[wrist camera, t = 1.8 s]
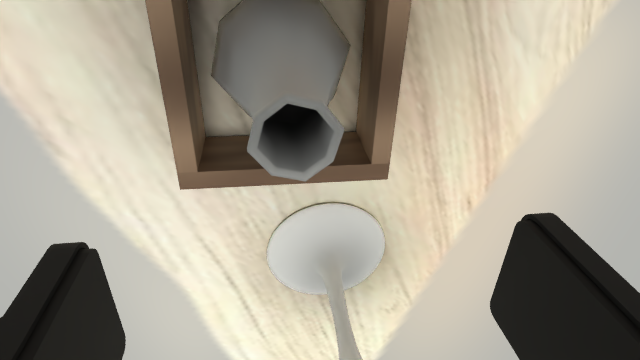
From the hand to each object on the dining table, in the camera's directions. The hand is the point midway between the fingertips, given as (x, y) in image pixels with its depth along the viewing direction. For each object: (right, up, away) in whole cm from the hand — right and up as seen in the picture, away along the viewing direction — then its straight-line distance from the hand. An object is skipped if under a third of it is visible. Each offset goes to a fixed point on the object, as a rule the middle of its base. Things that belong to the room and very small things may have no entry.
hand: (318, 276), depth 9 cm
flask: (-2, +9, +13) cm, 16 cm away
